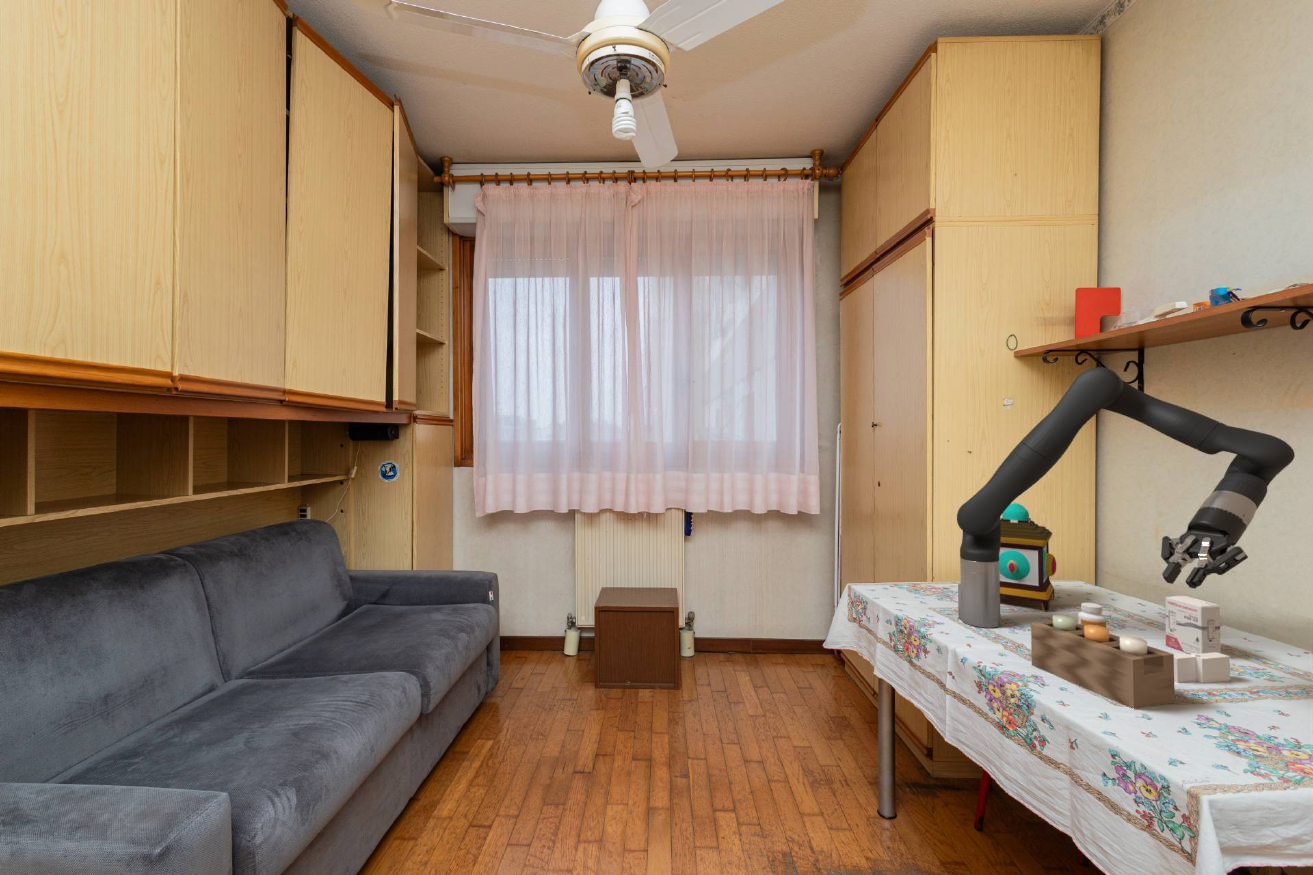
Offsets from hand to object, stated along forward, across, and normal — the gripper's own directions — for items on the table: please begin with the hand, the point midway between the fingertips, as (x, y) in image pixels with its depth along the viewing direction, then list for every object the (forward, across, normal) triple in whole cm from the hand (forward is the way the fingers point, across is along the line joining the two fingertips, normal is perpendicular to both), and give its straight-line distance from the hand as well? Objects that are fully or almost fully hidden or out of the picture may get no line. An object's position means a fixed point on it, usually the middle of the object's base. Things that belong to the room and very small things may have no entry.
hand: (1178, 582), depth 110 cm
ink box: (-3, -14, +33) cm, 36 cm away
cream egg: (+18, 0, +1) cm, 18 cm away
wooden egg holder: (+23, -7, +6) cm, 25 cm away
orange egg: (+18, -7, +1) cm, 19 cm away
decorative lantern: (-1, -58, +31) cm, 66 cm away
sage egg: (+18, -14, +1) cm, 23 cm away
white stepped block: (+9, -3, +21) cm, 24 cm away
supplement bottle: (+10, -23, +20) cm, 32 cm away
